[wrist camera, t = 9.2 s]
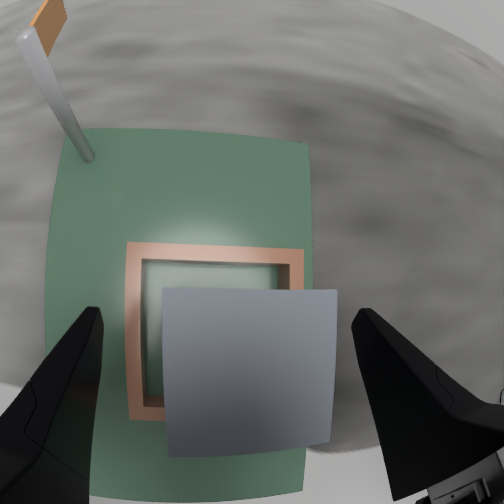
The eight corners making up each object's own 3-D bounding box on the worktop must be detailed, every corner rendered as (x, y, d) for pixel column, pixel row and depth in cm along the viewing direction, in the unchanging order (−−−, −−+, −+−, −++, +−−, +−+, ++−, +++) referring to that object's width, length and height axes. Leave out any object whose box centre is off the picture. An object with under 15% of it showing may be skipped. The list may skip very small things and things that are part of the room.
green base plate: (300, 488, 17) (383, 587, 6) (71, 489, 14) (24, 598, 3) (306, 133, 21) (399, 27, 10) (71, 118, 17) (15, -6, 6)
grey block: (252, 369, 18) (329, 442, 8) (172, 370, 17) (168, 457, 7) (253, 291, 18) (336, 289, 8) (171, 289, 17) (162, 286, 7)
